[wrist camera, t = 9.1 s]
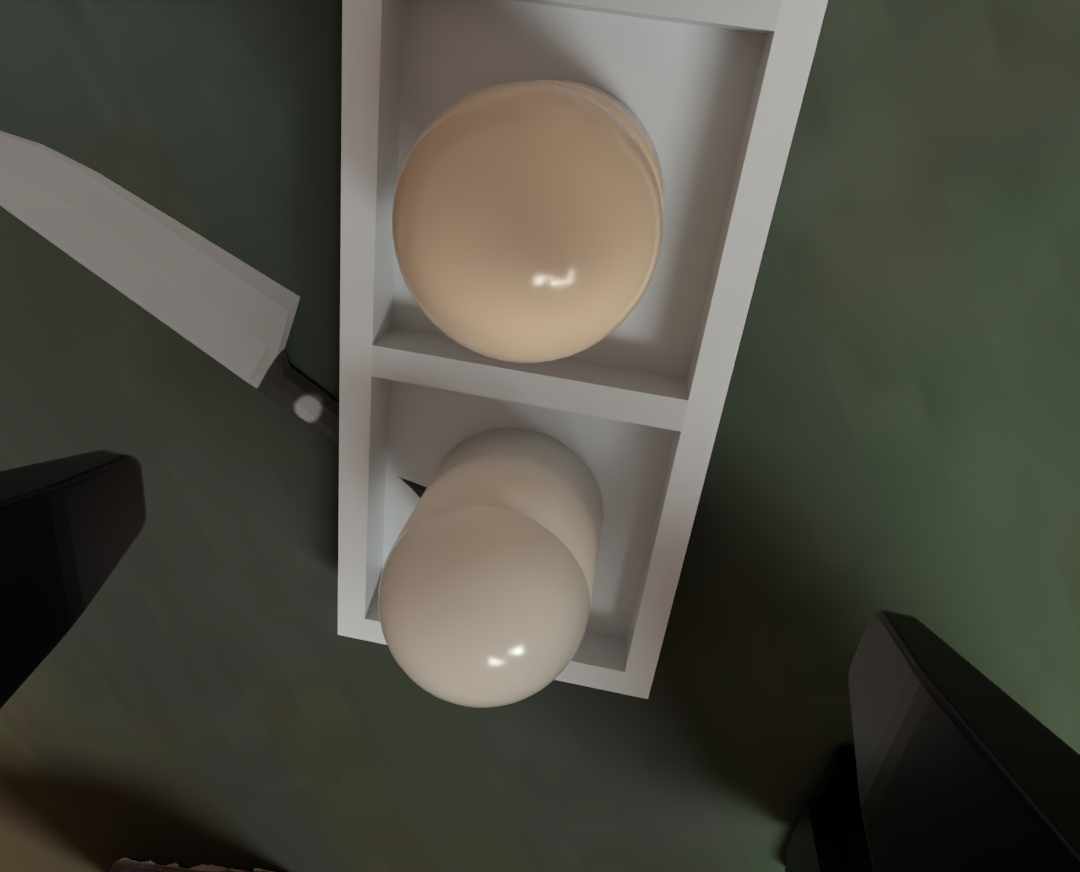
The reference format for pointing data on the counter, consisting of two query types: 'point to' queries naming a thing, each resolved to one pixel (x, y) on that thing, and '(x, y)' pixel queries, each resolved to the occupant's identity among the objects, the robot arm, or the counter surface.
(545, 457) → the cream egg
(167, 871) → the flask
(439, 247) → the tan egg
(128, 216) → the chef's knife
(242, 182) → the counter surface
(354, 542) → the egg carton
